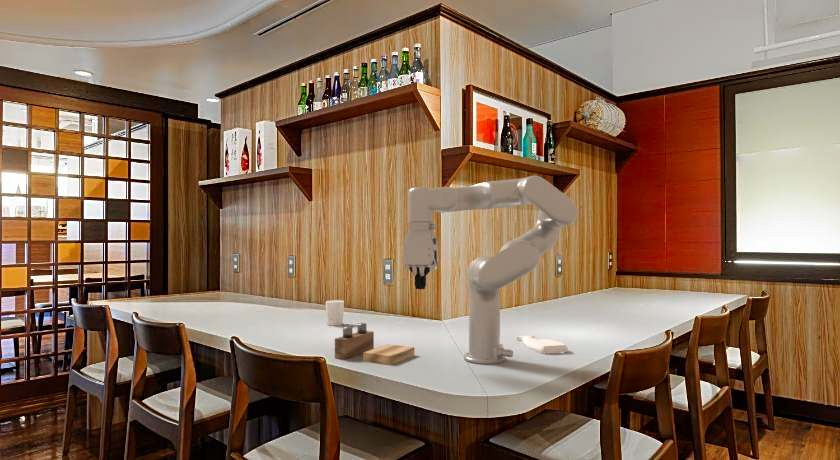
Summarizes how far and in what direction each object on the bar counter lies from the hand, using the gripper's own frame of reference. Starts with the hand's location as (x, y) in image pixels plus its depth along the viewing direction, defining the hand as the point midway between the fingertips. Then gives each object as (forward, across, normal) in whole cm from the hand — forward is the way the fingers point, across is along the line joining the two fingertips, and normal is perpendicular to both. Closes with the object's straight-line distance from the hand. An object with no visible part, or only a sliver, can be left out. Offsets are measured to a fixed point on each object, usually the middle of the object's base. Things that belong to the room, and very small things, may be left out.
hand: (420, 288), depth 158 cm
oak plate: (+23, +11, 0) cm, 25 cm away
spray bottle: (+23, -25, -40) cm, 52 cm away
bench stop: (+22, +24, 0) cm, 33 cm away
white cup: (+22, +64, -42) cm, 80 cm away
